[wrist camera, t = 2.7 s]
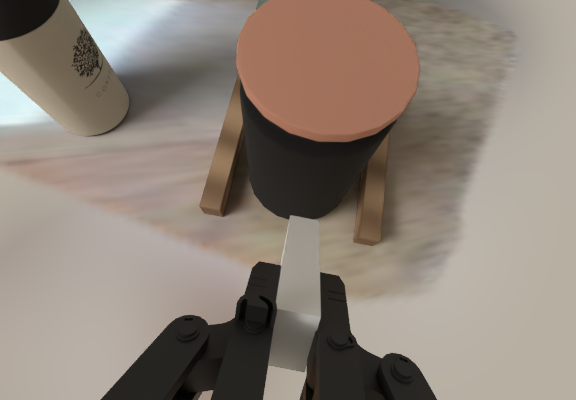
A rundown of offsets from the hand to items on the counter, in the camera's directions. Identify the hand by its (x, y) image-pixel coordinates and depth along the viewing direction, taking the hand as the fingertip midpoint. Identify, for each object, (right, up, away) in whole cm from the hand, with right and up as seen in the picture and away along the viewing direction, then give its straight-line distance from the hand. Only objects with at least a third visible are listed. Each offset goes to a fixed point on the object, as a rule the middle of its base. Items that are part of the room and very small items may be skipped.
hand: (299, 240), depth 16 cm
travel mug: (-23, +13, +20) cm, 33 cm away
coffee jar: (0, +4, +18) cm, 19 cm away
